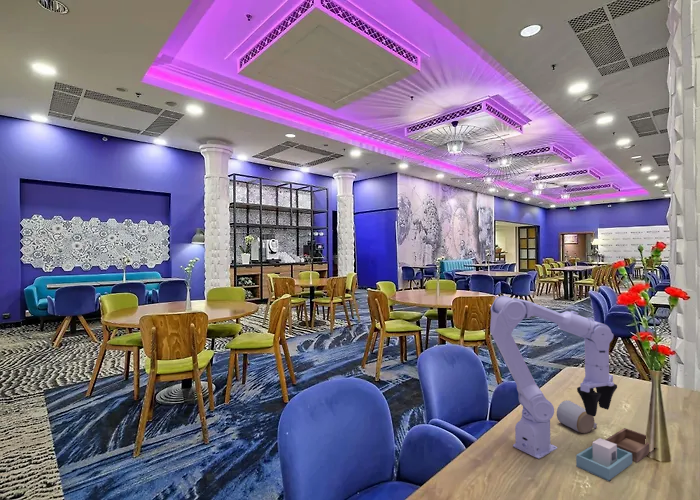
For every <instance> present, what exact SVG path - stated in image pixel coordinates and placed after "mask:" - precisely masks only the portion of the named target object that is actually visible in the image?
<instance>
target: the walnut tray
mask: <svg viewBox="0 0 700 500" xmlns="http://www.w3.org/2000/svg"><path fill="white" fill-rule="evenodd" d="M646 435H647V434H644V433H640V432H637V431H634V430H632V429H629V428H626V427H624V428H622V429H621V430H619V431H617V432H616V433H614V434H612V435H611V436H609V437H606V439H604V440H607V441H609V442H612V443H614V444H617V448H620V449H622V450H625V451H627V452H630V453H632V462H634V463H639V462H640V461H641V460H643V459H644V458H645V457H646V456H648V455H649V454H650V453H649V443H648V442H647V443H646V444H645V439H646ZM648 453H649V454H648Z"/></svg>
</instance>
